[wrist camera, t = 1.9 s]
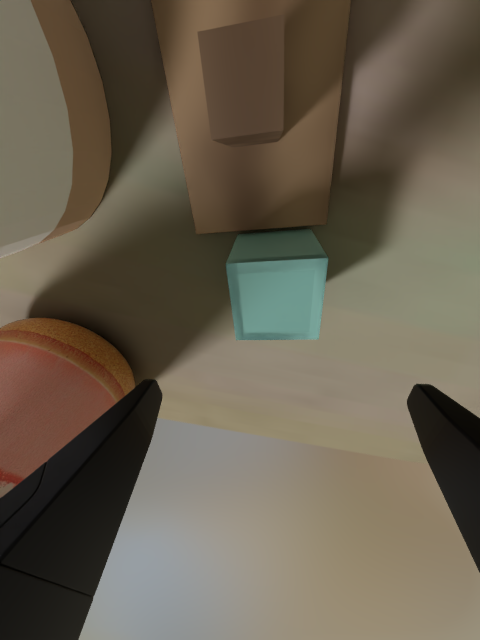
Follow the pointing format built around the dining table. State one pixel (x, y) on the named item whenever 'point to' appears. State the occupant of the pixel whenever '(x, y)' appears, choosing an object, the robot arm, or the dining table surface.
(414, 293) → the dining table surface
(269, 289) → the teal tilted box
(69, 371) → the vase
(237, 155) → the post block
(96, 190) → the bowl
